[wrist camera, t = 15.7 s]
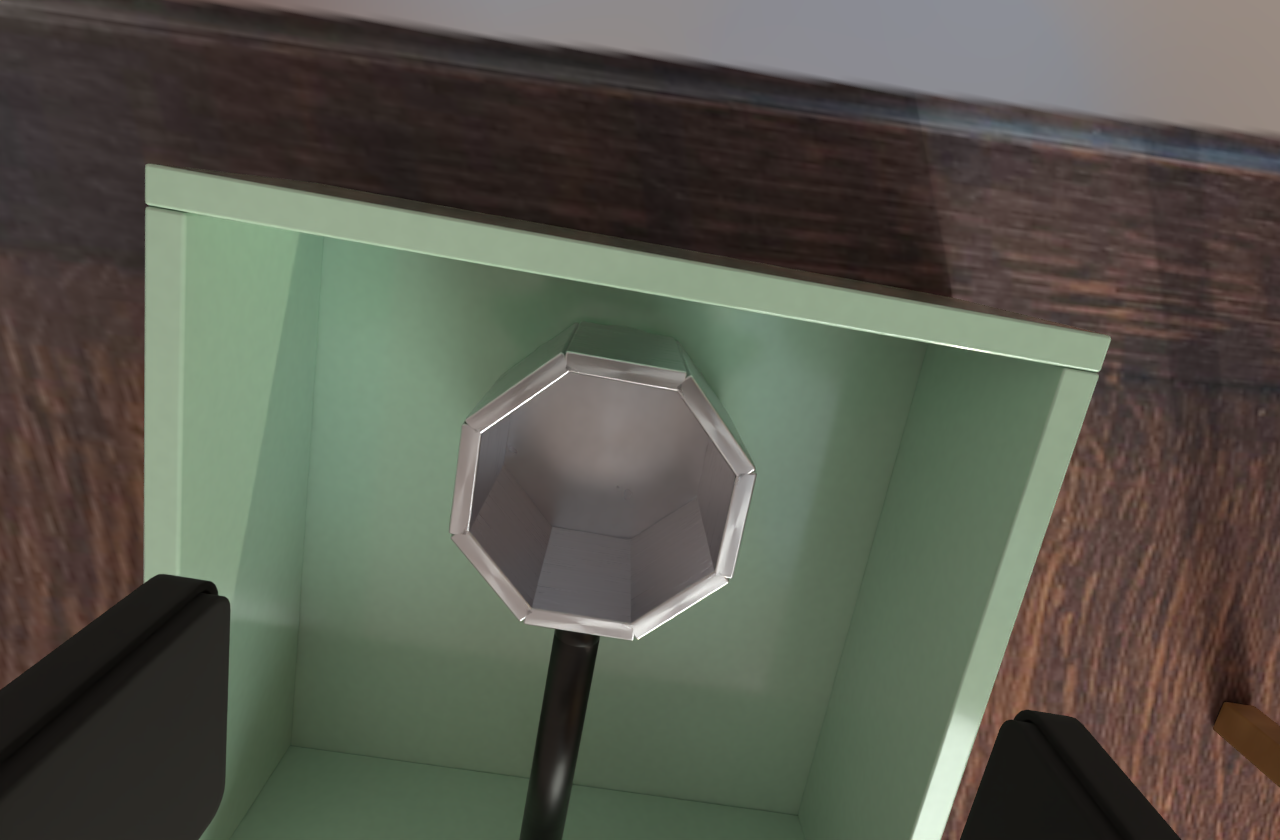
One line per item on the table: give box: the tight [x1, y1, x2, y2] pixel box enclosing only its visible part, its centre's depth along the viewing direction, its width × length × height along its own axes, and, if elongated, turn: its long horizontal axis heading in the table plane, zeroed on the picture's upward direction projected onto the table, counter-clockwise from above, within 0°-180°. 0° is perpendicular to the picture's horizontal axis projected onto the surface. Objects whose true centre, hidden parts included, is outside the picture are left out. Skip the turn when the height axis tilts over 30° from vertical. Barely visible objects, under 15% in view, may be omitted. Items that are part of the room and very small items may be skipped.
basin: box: [144, 163, 1111, 840], centre depth 21 cm, size 20×20×8 cm
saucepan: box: [449, 321, 757, 840], centre depth 22 cm, size 16×7×6 cm, turn 170°
